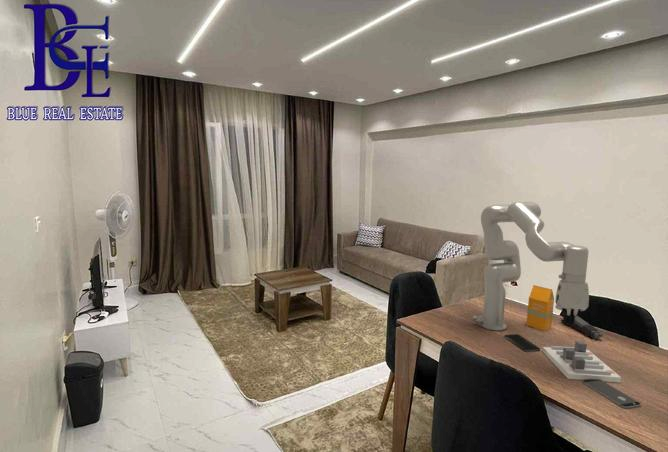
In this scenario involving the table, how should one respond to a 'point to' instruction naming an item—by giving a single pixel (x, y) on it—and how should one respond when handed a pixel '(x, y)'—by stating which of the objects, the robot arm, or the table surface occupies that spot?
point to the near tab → (578, 363)
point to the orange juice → (540, 308)
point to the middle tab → (568, 353)
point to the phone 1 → (522, 343)
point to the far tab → (580, 346)
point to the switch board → (591, 370)
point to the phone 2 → (611, 393)
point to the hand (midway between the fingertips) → (568, 324)
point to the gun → (584, 327)
